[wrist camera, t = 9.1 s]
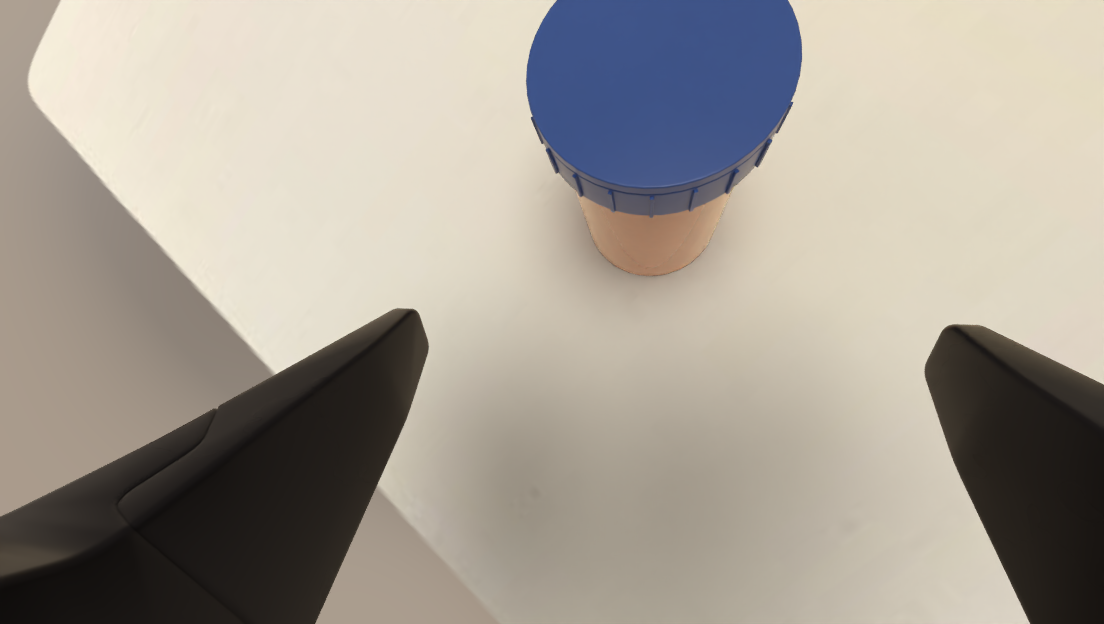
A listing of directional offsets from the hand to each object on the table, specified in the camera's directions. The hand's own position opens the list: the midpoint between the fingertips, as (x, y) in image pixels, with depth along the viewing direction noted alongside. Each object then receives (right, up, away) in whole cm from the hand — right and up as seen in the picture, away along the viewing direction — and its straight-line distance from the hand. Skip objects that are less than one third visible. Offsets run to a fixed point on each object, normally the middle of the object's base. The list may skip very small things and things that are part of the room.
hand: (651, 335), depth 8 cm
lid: (+1, +7, +4) cm, 8 cm away
